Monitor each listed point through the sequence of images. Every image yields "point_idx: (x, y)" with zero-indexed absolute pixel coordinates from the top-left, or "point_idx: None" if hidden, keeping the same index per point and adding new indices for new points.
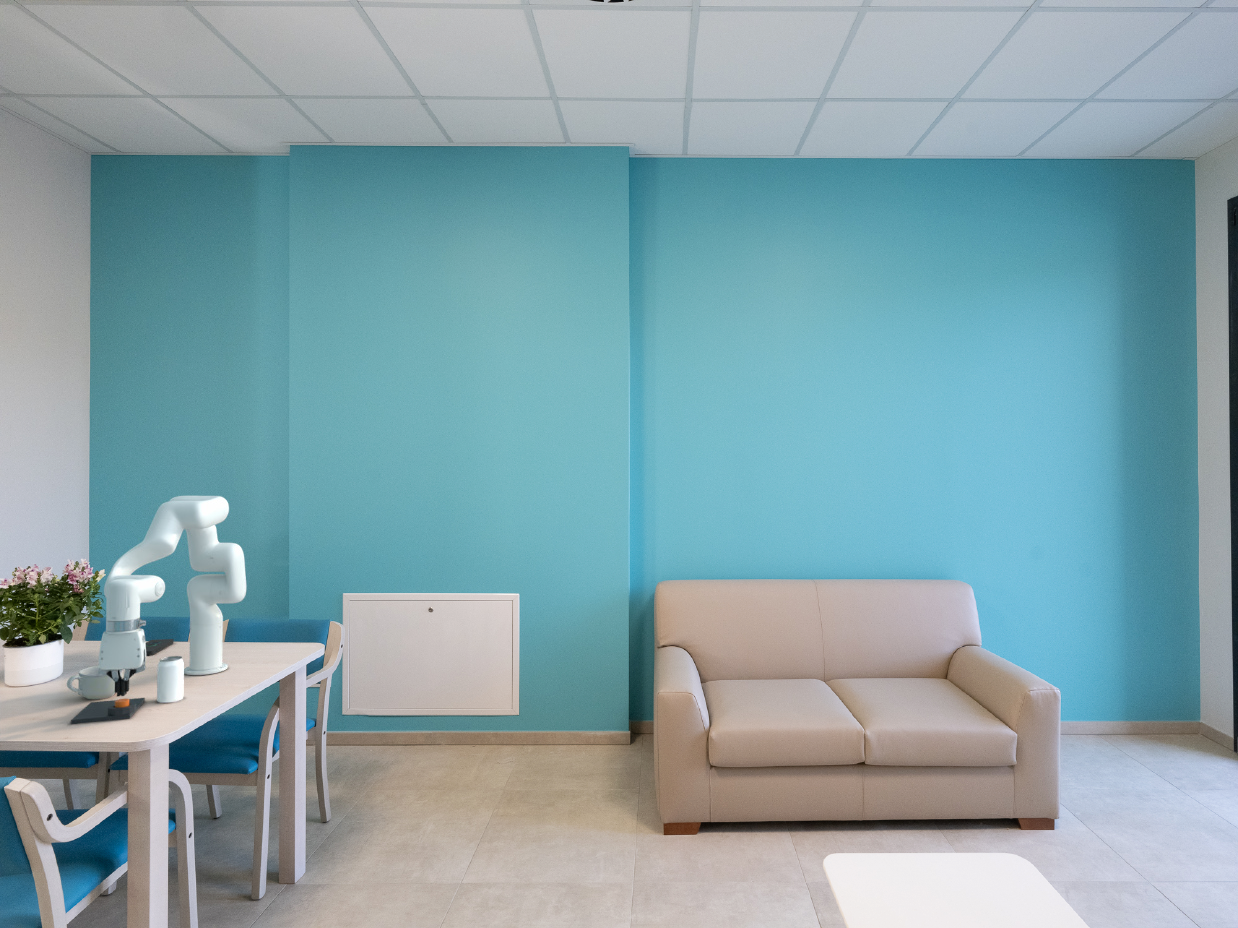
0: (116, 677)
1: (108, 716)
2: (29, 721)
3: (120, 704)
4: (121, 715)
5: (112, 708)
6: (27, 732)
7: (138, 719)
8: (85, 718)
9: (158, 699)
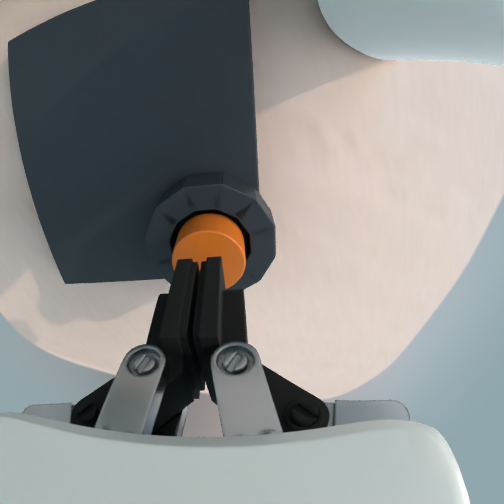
0: (175, 421)
1: None
2: None
3: None
4: None
5: None
6: (17, 307)
7: (296, 271)
8: (101, 280)
9: (336, 29)
